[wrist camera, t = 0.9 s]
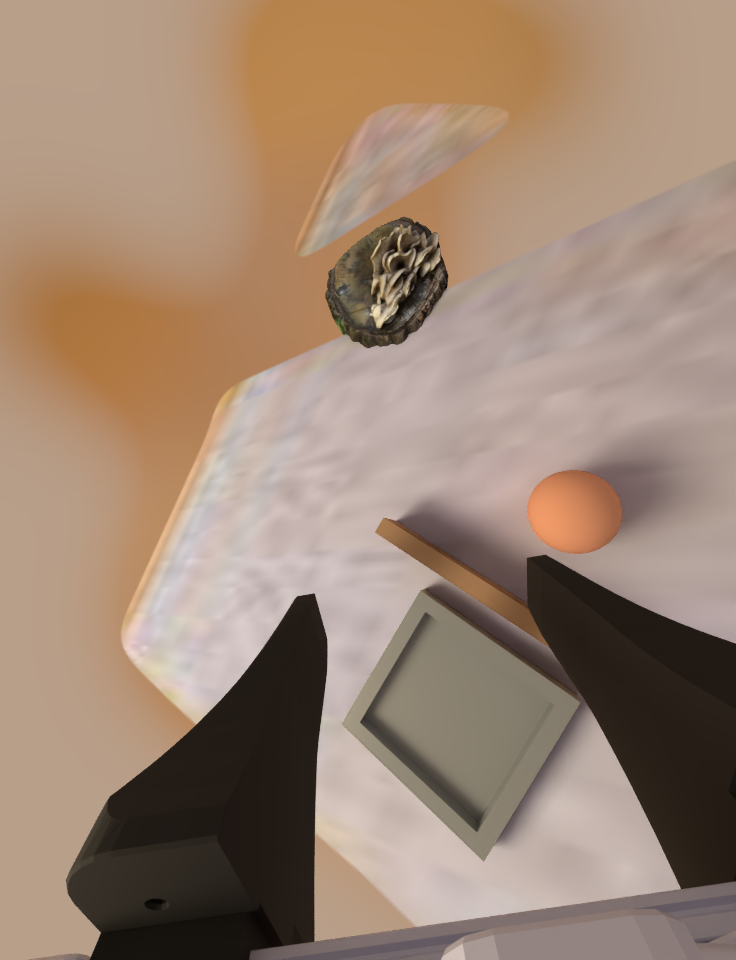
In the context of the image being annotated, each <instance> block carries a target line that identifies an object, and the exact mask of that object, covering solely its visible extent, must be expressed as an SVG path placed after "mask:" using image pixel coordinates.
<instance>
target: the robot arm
mask: <svg viewBox="0 0 736 960" xmlns="http://www.w3.org/2000/svg"><path fill="white" fill-rule="evenodd" d="M527 593H528V608H529V611H530V613H531V615H532V617H533V619H534V621H535V623H536V625H537V627H538V629H539V631H540V633H541V635H542V636H543V638H544V639H545V641H546V642H547V644H548V645H549V647H550V649H551V650H552V652H553V653H554V655H555V656H556V658H557V659H558V661H559V662H560V664H561V665H562V667H563V668H564V670H565V671H566V673H567V674H568V676H569V677H570V679H571V680H572V682H573V683H574V685H575V686H576V688H577V689H578V691H579V692H580V694H581V695H582V697H583V698H584V700H585V701H586V703H587V705H588V706H589V708H590V709H591V711H592V713H593V714H594V716H595V718H596V720H597V722H598V723H599V725H600V727H601V729H602V731H603V733H604V734H605V736H606V738H607V740H608V742H609V744H610V745H611V747H612V749H613V751H614V753H615V755H616V757H617V759H618V761H619V763H620V765H621V766H622V768H623V770H624V772H625V774H626V776H627V778H628V780H629V782H630V784H631V786H632V788H633V790H634V792H635V794H636V796H637V798H638V800H639V802H640V804H641V806H642V808H643V810H644V812H645V814H646V816H647V818H648V820H649V822H650V824H651V826H652V828H653V830H654V832H655V834H656V836H657V838H658V840H659V843H660V845H661V847H662V849H663V851H664V853H665V855H666V858H667V860H668V862H669V864H670V866H671V868H672V870H673V872H674V875H675V877H676V879H677V881H678V883H679V885H680V887H681V889H680V890H673V891H666V892H659V893H652V894H645V895H638V896H631V897H624V898H617V899H610V900H603V901H596V902H589V903H582V904H575V905H568V906H561V907H554V908H547V909H540V910H533V911H526V912H519V913H512V914H505V915H498V916H491V917H484V918H477V919H470V920H463V921H456V922H449V923H442V924H435V925H428V926H421V927H414V928H407V929H400V930H393V931H386V932H379V933H372V934H365V935H358V936H351V937H344V938H338V939H330V940H323V941H316V942H314V855H315V850H314V849H315V801H316V771H317V752H318V740H319V732H320V724H321V716H322V708H323V701H324V692H325V684H326V676H327V636H326V633H325V629H324V626H323V622H322V618H321V615H320V611H319V607H318V604H317V600H316V597H315V593H314V594H309V595H303V596H297V597H296V598H295V600H294V601H293V603H292V605H291V606H290V608H289V609H288V611H287V613H286V614H285V616H284V617H283V619H282V620H281V622H280V624H279V625H278V627H277V628H276V630H275V631H274V633H273V634H272V636H271V637H270V639H269V640H268V642H267V643H266V645H265V646H264V647H263V649H262V650H261V652H260V653H259V654H258V656H257V657H256V658H255V660H254V661H253V662H252V664H251V665H250V666H249V668H248V669H247V670H246V671H245V673H244V674H243V675H242V676H241V678H240V679H239V680H238V681H237V683H236V684H235V685H234V686H233V687H232V688H231V689H230V691H229V692H228V693H227V694H226V695H225V696H224V697H223V698H222V699H221V700H220V701H219V702H218V703H217V704H216V706H215V707H214V708H213V709H212V710H211V711H210V712H209V713H208V714H207V715H206V716H205V717H204V718H203V719H202V720H201V721H200V722H199V723H198V724H197V725H196V726H195V727H194V728H193V729H191V730H190V731H189V732H188V733H187V734H186V735H185V736H184V737H183V738H182V739H180V740H179V741H178V742H177V743H176V744H175V745H174V746H173V747H171V748H170V749H169V750H168V751H167V752H166V753H164V754H163V755H162V756H161V757H160V758H159V759H157V760H156V761H155V762H154V763H153V764H151V765H150V766H149V767H148V768H146V769H145V770H144V771H142V772H141V773H140V774H139V775H137V776H136V777H135V778H133V779H132V780H131V781H130V782H128V783H127V784H126V785H125V786H123V787H122V788H121V789H119V790H118V791H117V792H115V793H114V794H113V795H111V796H110V798H109V799H108V801H107V802H106V804H105V806H104V808H103V809H102V811H101V813H100V815H99V816H98V818H97V820H96V822H95V824H94V826H93V828H92V830H91V832H90V834H89V835H88V837H87V839H86V841H85V843H84V845H83V847H82V849H81V851H80V853H79V854H78V856H77V858H76V861H75V862H74V864H73V866H72V868H71V870H70V872H69V874H68V877H67V879H66V883H67V890H68V894H69V896H70V898H71V899H72V901H73V902H74V904H75V905H76V906H77V907H78V908H79V909H80V910H81V911H82V913H83V914H84V915H85V916H86V917H87V918H88V919H89V920H90V921H91V922H92V923H93V924H94V925H95V927H96V928H97V929H98V930H99V931H100V932H101V934H100V937H99V939H98V942H97V944H96V946H95V949H94V951H93V954H92V956H91V957H89V956H87V955H83V954H65V955H58V956H51V957H45V958H37V959H30V960H736V644H735V643H732V642H729V641H727V640H724V639H721V638H718V637H715V636H712V635H710V634H707V633H704V632H701V631H698V630H696V629H693V628H691V627H688V626H685V625H683V624H680V623H678V622H676V621H673V620H671V619H669V618H666V617H664V616H661V615H659V614H657V613H654V612H652V611H650V610H648V609H646V608H643V607H641V606H639V605H637V604H635V603H633V602H631V601H629V600H627V599H625V598H623V597H621V596H619V595H617V594H615V593H613V592H611V591H609V590H607V589H606V588H604V587H602V586H600V585H598V584H596V583H595V582H593V581H591V580H589V579H587V578H586V577H584V576H582V575H580V574H579V573H577V572H575V571H573V570H572V569H570V568H568V567H566V566H565V565H563V564H561V563H559V562H558V561H556V560H554V559H552V558H550V557H548V556H547V555H542V556H536V557H530V558H527Z"/></svg>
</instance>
